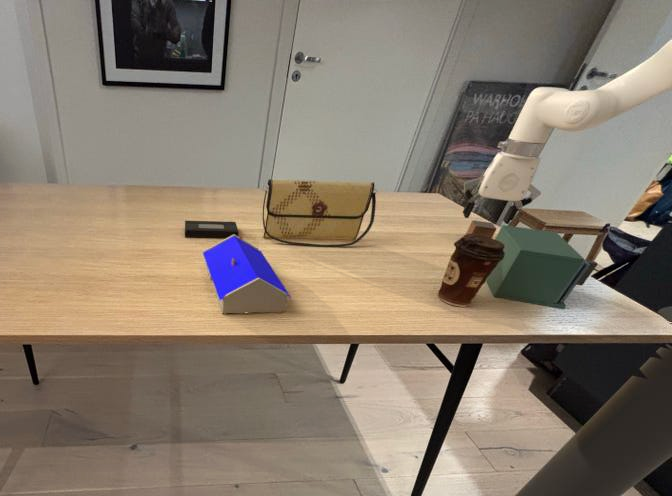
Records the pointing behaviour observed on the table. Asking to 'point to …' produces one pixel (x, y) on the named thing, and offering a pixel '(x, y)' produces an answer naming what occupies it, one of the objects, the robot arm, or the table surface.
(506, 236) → the cabinet
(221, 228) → the vhs tape
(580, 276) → the dark grey slanted bar
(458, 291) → the coffee cup
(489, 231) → the walnut block
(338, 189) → the clutch purse
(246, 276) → the roof
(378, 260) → the table surface
